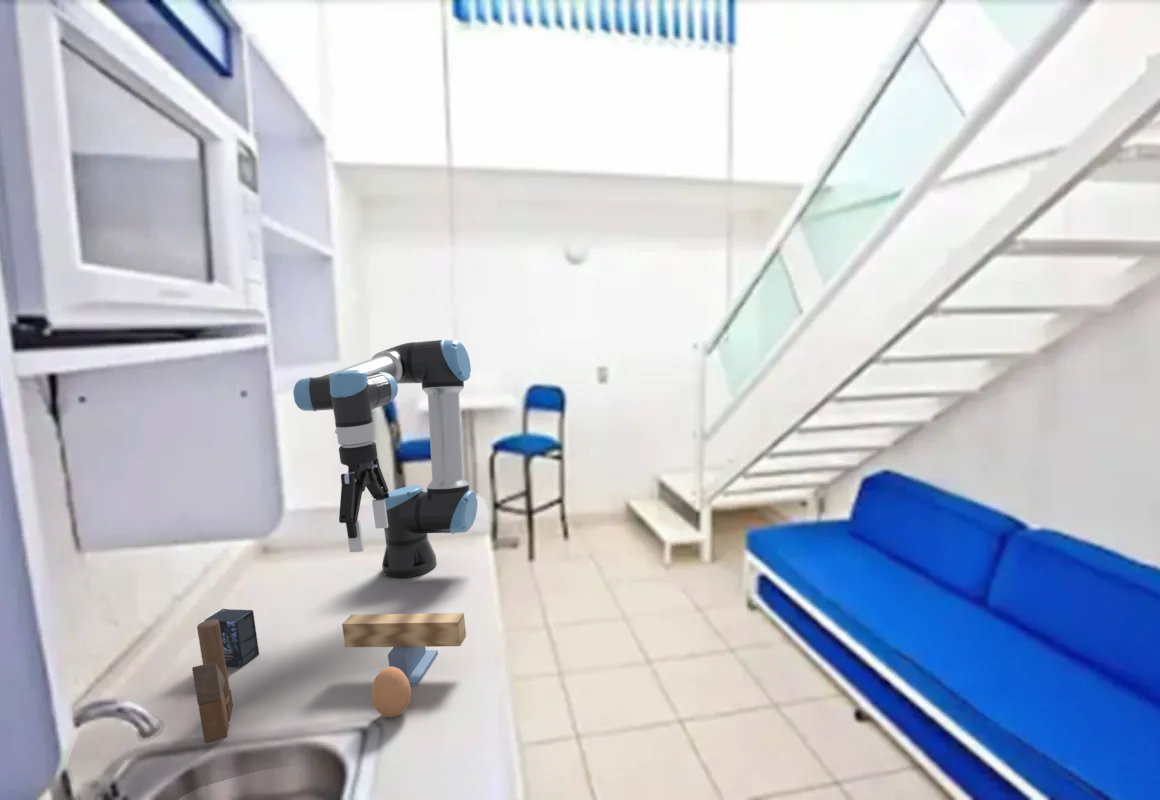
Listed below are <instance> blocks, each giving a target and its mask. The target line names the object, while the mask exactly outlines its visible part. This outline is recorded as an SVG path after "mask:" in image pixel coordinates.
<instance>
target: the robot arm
mask: <svg viewBox="0 0 1160 800" xmlns="http://www.w3.org/2000/svg"><path fill="white" fill-rule="evenodd" d="M471 371H472V369H471V361H470V357H469V354H468V351H467V349H466V346H464V344H463V343H462V342H461V341H459V340H456V339H439V340H428V341H415V342H412V341H411V342H406V343H402V344H399V345H396V346H393V347H390V348H387V349H385V350H382V351H379V352H377V353H375V354H374V355H373V356H372V357H371V358H370V359H367V360H364V361H362V362H359V363H357V364H353V365H351V366H348V367H345V368H343V369H340V370H336V371H333V372H332V373H328V374H324V375H322V376H317V377H312V376H310V377H308V378H307V377H306V378H301V379H299V380H297V382H296V383H295V385H294V387H293V393H292V395H293V400H294V404H296V406H297V408H298V409H300V410H302V411H308V412H310V411H313V412H317V411H332V410H333V415H334V416H333V417H334V422H335V423H334V425H335V429H334V433H335V434H336V437H337V444H338V445H339V447H338V454H339V461H340V463H341V465H344V466H347V467H348V468H347V470H348V471H347V473H341V474H340V482H341V487H340V488H341V489H340V500H339V501H340V502H339V503H340V504H339V516H338V522H339V523H340V524H345V526H346V534H347V541H348V547H349V553H360V552H361V553H362V552H364V550H365V547H364V540H363V534H362V526H361V521H360V520H359V513H360V509H361V508H360V507H361V501H362V495H363V493H364V492H365V490H366V489H367V490H368V492H369V493H370V495H371V496H372V498H373V499H372V500H371V502H372V503H371V504H372V512H373V517H374V519H373V520H374V527H375V529H383V532H384V539H385V545H386V546H385V549H384V554H383V559H382V564H381V567H382V574H383V573H384V574H385V575H384V574H383V575H384V576H385V577H388V576H389V578H393V577H397V578H396V579H402V577H405V578H410V577H411V578H412V577H416V576H419V575H424V574H425V573H427V572H429V571H432V570H433V569H434V568H435V567H436V566H437V563H438V562H437V556H436V553H435V551H434V549H433V546H432V544H431V542H430V540H429V538H428V534H452V535H454V534H460V533H466V532H469V531H470V529H472V528H473V525H474V523H475V520H476V517H477V511H478V497H477V494H476V491H473V490H472V489H470V483H469V482H468V481H467V480H466V479H465V478H464V467H463V449H462V430H461V429H462V428H461V427H462V425H461V413H460V412H461V410H460V409H461V408H460V392H461V391H462V390H463V389H465V388H464V387H465V383H464V382H466V381H468V380H469V379H470V378H471ZM399 384H421V391H422V390H423V392H424V393H425V394H426V395H427V399H428V400H427V402H428V405H427V406H428V423H429V424H428V425H429V441H430V442H429V443H430V462H431V463H430V464H431V465H430V466H431V482H429V484H427V486H426V491H424V488H423V487H422V485H407V486H404V487H400V488H397V489H394V490H392V491H391V490H390V491H389V488H388V485H387V482H386V480H385V477H384V475H383V472H382V469H381V467H380V463H379V462H380V461H379V458H378V449H377V444H376V443H377V442H375V439H376V434H375V428H374V427H375V425H374V419H373V414H372V413H373V412H372V410H374V409H377V408H380V407H385V406H386V405H388V404H389V403H391V402H392V401H394V400H395V398H396V397H397V396H398V391H399V387H398V385H399ZM398 577H399V578H398Z"/></svg>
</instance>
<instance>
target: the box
mask: <svg viewBox="0 0 1160 800" xmlns="http://www.w3.org/2000/svg"><path fill="white" fill-rule="evenodd" d="M211 619H217V620H218V621H219V624H220V631H221V637H222V643H223V650H224V656H225V663H226V667H233V668H234V667H235V668H237V667H238V668H243V667H245V666H246V665H248V664H249V663H250V662H251V661H252V660H254V659H255V658H257V657H258V656H259V655H260V648H259V642H258V637H257V636H258V635H257V627H256V621H255V615H254V610H253V609H228V608H222V609H220V610H219V611H217V612H215V613H214V614H211V615H210V616H209V617H207V618H206V619H204V621H207V620H211Z"/></svg>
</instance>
